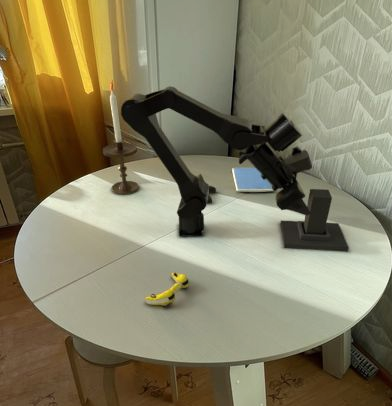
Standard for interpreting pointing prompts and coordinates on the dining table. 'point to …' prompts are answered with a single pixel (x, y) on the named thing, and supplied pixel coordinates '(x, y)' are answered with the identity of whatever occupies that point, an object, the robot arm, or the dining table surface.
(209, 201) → the gaming controller
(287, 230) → the base pad
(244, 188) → the tablet
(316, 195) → the dark rectangular block
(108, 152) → the candlestick
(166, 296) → the yellow toy animal
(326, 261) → the dining table surface
